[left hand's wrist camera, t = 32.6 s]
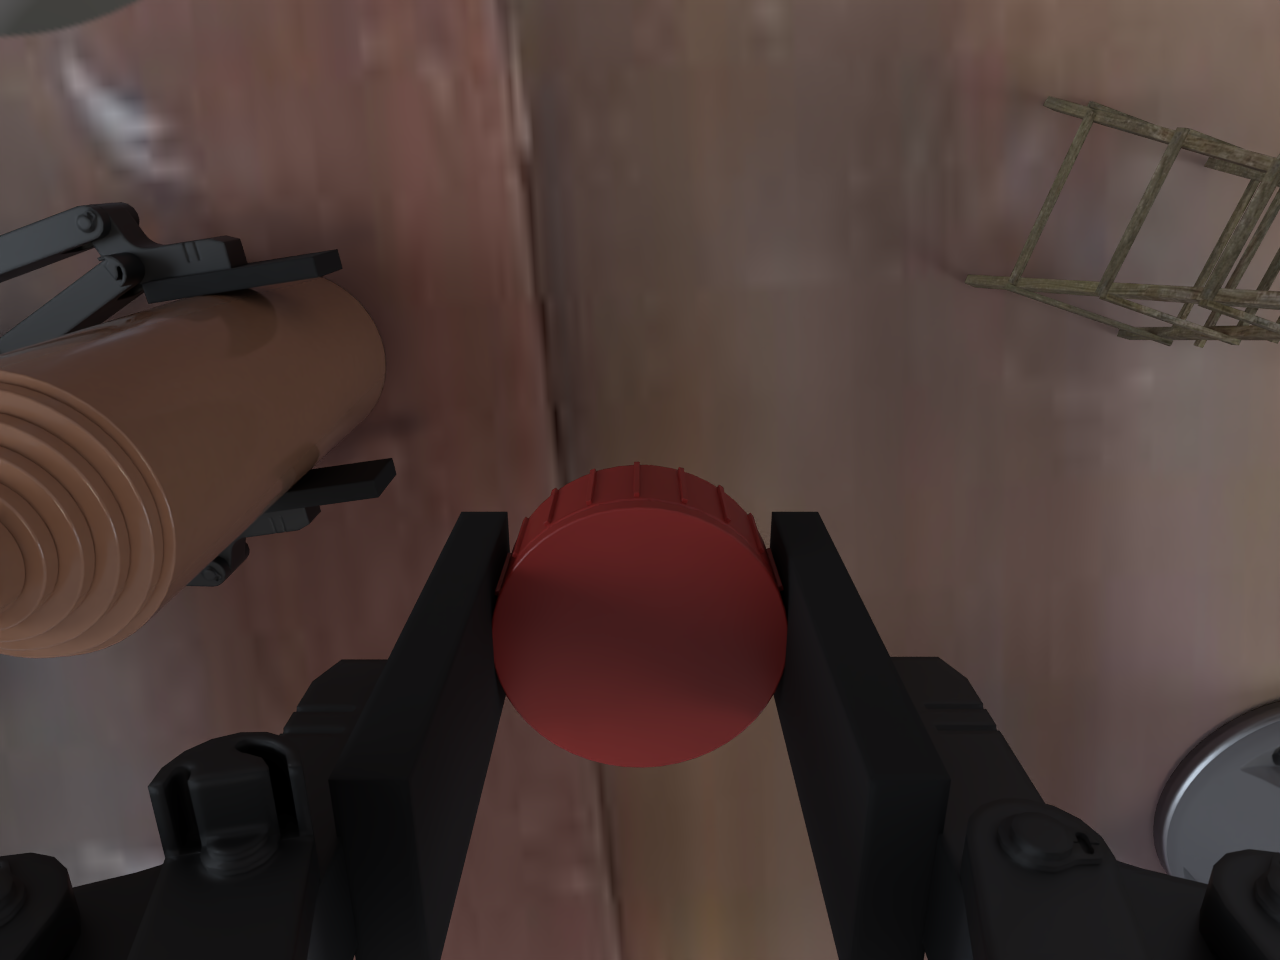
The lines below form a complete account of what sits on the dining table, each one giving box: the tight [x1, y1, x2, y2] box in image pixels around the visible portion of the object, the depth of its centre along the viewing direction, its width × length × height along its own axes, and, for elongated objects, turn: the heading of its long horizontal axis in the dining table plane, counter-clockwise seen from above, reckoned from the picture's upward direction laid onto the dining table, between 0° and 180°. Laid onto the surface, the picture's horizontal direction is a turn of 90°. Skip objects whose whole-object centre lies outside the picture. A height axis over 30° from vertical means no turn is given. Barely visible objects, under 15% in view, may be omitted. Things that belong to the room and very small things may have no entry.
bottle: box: [0, 277, 386, 658], centre depth 29 cm, size 8×8×24 cm
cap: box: [492, 462, 788, 767], centre depth 14 cm, size 4×4×2 cm
